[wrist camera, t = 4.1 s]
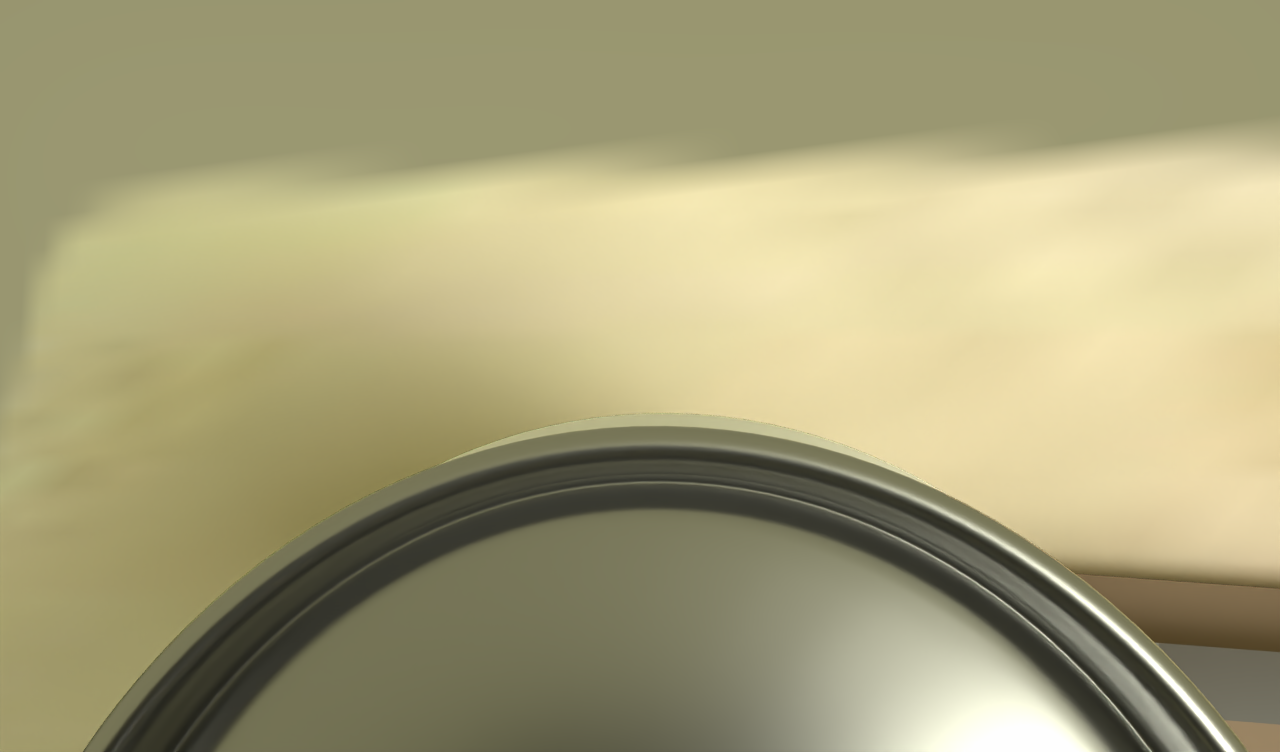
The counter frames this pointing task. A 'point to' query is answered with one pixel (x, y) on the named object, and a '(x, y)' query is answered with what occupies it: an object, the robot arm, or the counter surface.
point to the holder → (1214, 644)
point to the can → (662, 616)
